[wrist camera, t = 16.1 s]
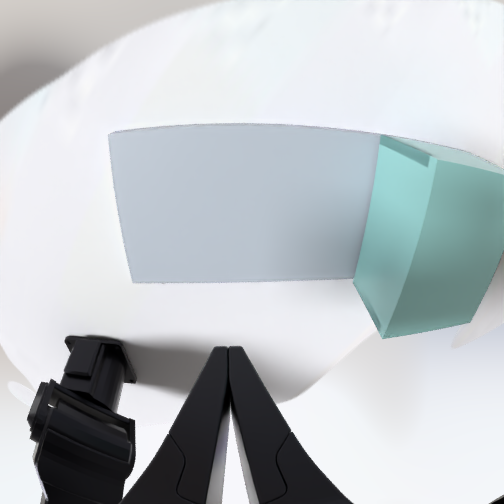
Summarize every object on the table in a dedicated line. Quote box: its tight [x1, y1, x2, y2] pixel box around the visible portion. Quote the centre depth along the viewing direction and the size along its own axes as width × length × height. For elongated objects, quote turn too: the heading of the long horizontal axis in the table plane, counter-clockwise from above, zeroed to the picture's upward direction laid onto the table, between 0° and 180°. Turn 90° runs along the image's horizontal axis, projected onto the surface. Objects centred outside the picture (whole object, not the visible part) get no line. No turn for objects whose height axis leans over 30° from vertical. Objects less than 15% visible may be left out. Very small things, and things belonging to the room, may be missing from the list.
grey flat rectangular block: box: [108, 123, 466, 283], centre depth 18 cm, size 10×25×3 cm, turn 89°
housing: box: [353, 134, 504, 339], centre depth 16 cm, size 11×8×6 cm
